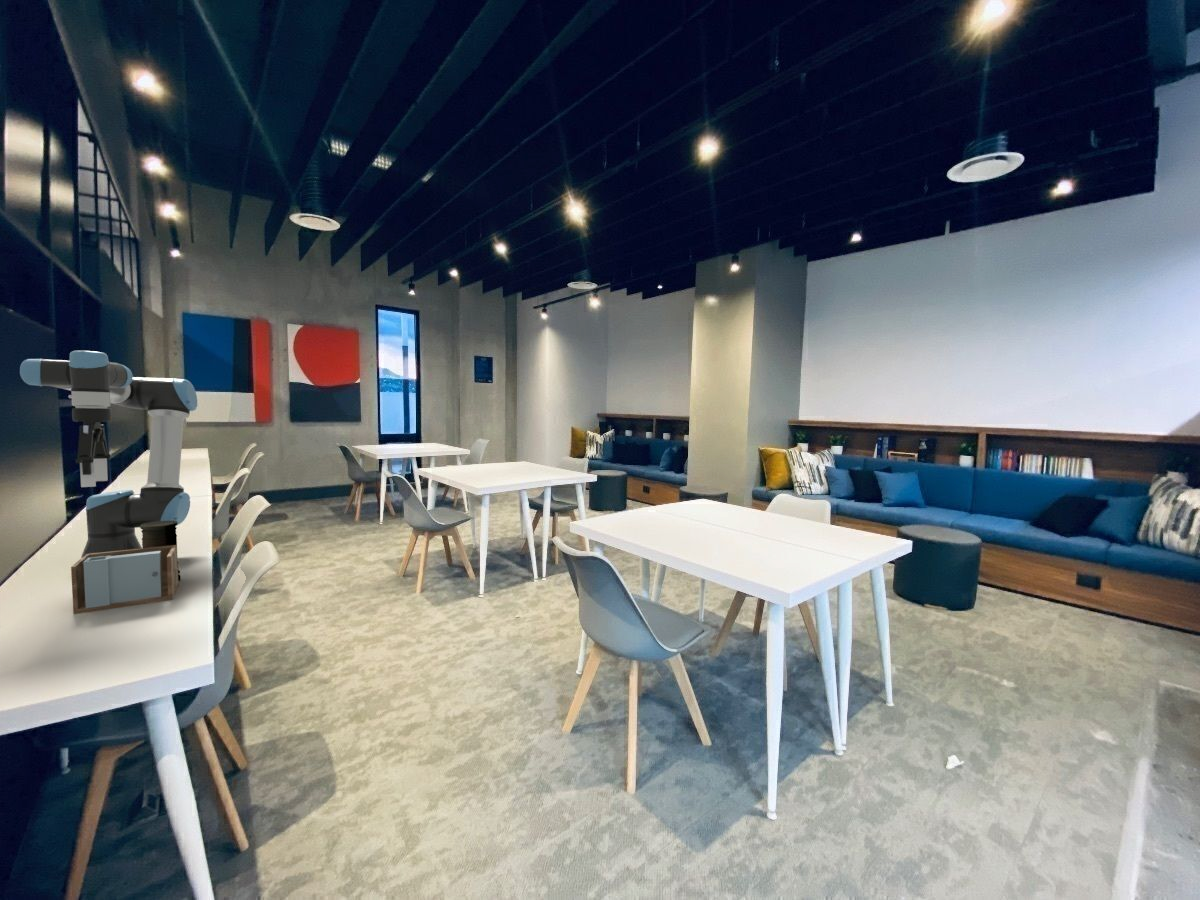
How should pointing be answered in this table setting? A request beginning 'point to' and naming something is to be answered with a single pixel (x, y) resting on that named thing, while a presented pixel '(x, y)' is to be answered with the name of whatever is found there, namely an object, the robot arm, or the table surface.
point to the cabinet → (168, 588)
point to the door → (122, 578)
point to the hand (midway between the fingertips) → (95, 483)
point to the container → (159, 535)
